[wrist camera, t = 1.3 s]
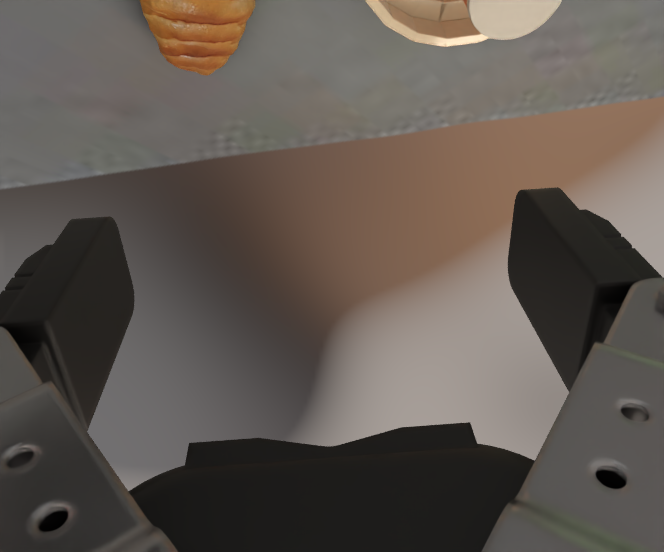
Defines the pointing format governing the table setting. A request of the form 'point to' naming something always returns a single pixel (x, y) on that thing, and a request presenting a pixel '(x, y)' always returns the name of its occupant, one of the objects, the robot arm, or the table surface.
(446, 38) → the oatmeal bowl
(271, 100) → the table surface
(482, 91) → the table surface
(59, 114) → the table surface
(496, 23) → the cracker tube
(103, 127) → the table surface
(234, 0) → the pastry
